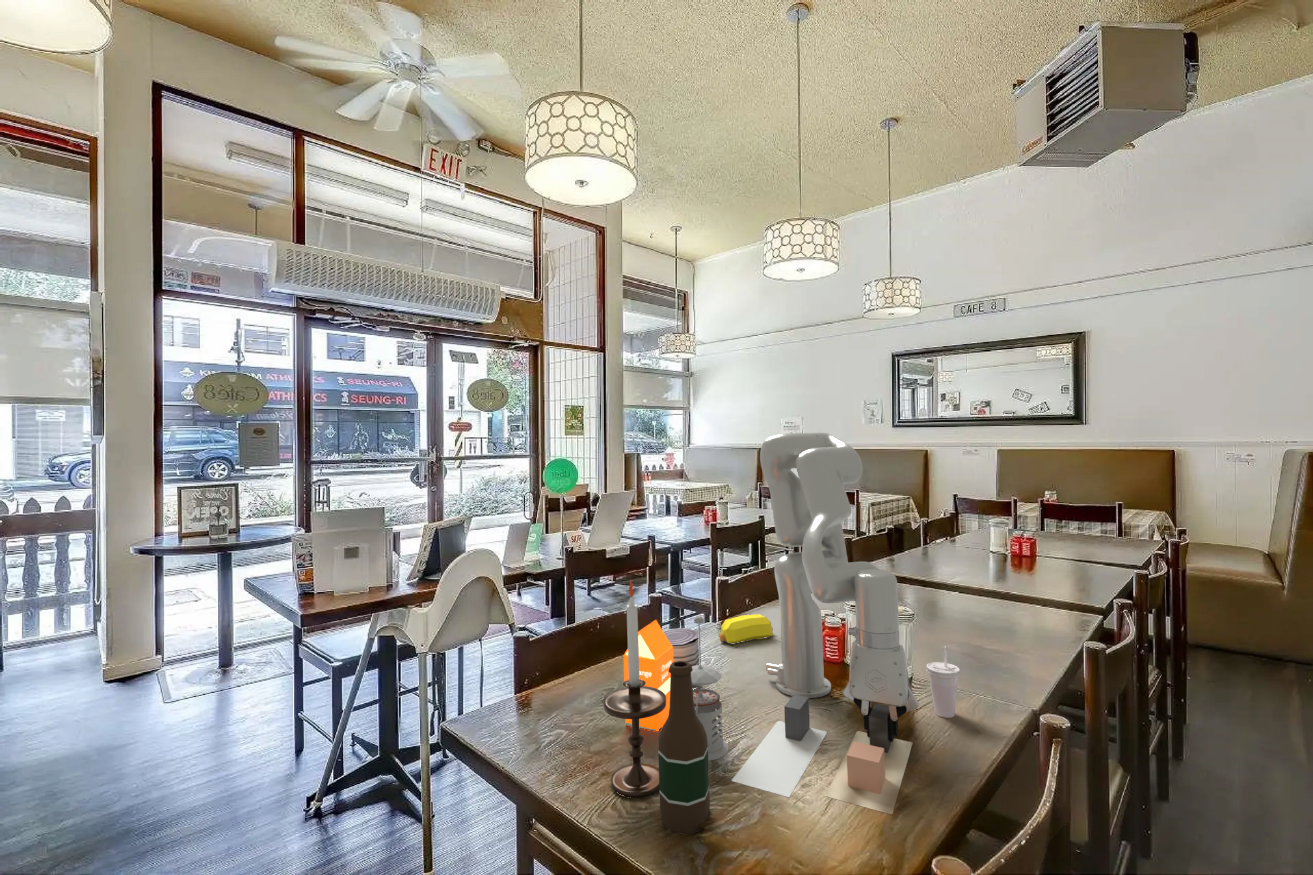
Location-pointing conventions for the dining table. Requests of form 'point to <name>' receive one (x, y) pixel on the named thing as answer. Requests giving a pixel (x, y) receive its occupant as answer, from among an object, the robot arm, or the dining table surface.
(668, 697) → the orange juice
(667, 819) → the beer bottle
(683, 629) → the can
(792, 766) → the grey strip
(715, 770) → the dining table surface
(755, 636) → the yellow rounded bar
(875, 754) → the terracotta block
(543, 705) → the dining table surface
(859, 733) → the maple strip
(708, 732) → the french press
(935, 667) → the smoothie
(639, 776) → the candlestick
